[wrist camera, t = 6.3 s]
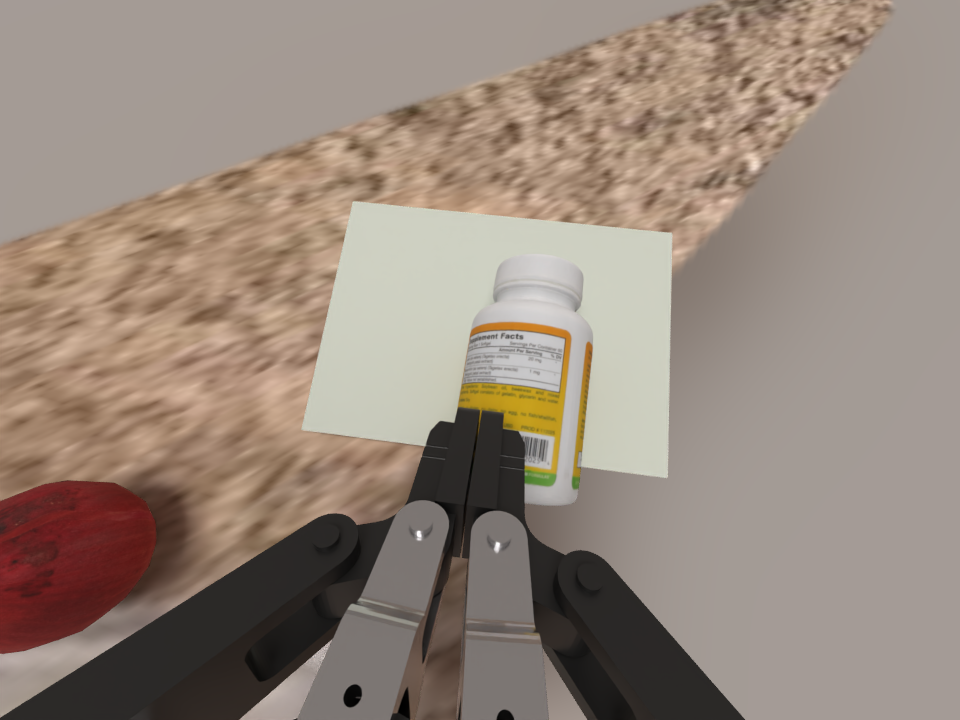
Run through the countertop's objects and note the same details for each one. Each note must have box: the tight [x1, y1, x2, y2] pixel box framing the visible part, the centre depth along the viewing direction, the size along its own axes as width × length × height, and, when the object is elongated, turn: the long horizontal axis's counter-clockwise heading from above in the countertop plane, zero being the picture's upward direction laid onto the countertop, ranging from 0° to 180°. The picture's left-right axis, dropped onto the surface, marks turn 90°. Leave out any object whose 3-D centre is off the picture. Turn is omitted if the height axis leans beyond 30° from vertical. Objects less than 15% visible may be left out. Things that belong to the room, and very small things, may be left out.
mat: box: [301, 201, 672, 478], centre depth 20 cm, size 18×13×1 cm
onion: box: [0, 480, 156, 654], centre depth 14 cm, size 6×6×8 cm
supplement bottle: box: [457, 254, 593, 506], centre depth 16 cm, size 5×5×10 cm
